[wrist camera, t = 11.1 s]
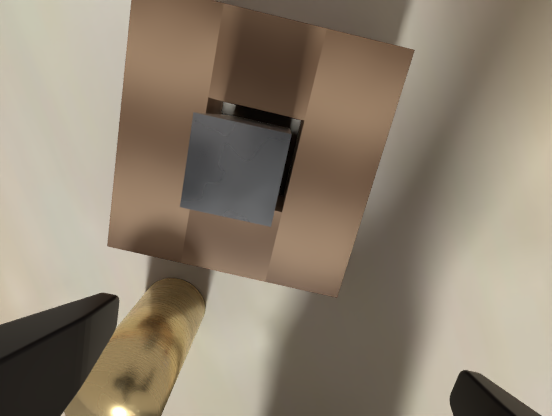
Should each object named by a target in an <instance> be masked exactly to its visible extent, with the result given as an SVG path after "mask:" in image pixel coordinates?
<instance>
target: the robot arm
mask: <svg viewBox="0 0 552 416" xmlns="http://www.w3.org/2000/svg"><path fill="white" fill-rule="evenodd" d="M118 309H119V297H118V296H116V295H112V294H108V293H99V294H96V295H93V296H90V297H87V298H83V299H80V300H77V301H74V302H71V303H68V304H64V305H61V306H58V307H55V308H52V309H49V310H45V311H42V312H39V313H36V314H33V315H30V316H26V317H23V318H20V319H17V320H14V321H11V322H7V323H4V324H1V325H0V416H61V414H62V413H63V412H64V410H65V409H66V408H67V406H68V405H69V404H70V402H71V401H72V400H73V398H74V397H75V395H76V394H77V393H78V391H79V390H80V388H81V387H82V385H83V384H84V382H85V380H86V379H87V377H88V375H89V374H90V372H91V370H92V369H93V367H94V365H95V364H96V362H97V360H98V359H99V357H100V355H101V354H102V352H103V350H104V349H105V347H106V345H107V344H108V342H109V340H110V339H111V337H112V335H113V334H114V331H115V329H116V326H117V318H118ZM450 406H451V409H452V412H453V416H541V415H540V414H538V413H537V412H535V411H534V410H532V409H531V408H530V407H528V406H527V405H525V404H524V403H522V402H521V401H519V400H518V399H517V398H515V397H514V396H512V395H511V394H509V393H508V392H506V391H505V390H503V389H502V388H501V387H499V386H498V385H496V384H495V383H493V382H492V381H490V380H489V379H488V378H486V377H485V376H483V375H482V374H480V373H477V372H472V371H468V370H463V371H461V372H460V373H459V375H458V378H457V380H456V382H455V385H454V387H453V390H452V392H451V395H450Z"/></svg>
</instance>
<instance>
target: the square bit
mask: <svg viewBox="0 0 552 416" xmlns="http://www.w3.org/2000/svg"><path fill="white" fill-rule="evenodd" d="M291 135H292V134H291V130H290V128H287V127H283V126H278V125H274V124H269V123H265V122H260V121H256V120H251V119H247V118H242V117H238V116H234V115H221V114H208V113H196V112H193V119H192V126H191V133H190V140H189V147H188V154H187V161H186V168H185V175H184V182H183V189H182V196H181V203H180V207H181V208H186V209H191V210H195V211H200V212H204V213H209V214H214V215H218V216H223V217H228V218H232V219H237V220H241V221H246V222H251V223H255V224H260V225H265V226H269V227H271V224H272V220H273V216H274V211H275V207H276V202H277V198H278V193H279V189H280V184H281V180H282V175H283V171H284V166H285V162H286V157H287V153H288V148H289V144H290V139H291Z"/></svg>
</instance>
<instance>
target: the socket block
mask: <svg viewBox="0 0 552 416" xmlns="http://www.w3.org/2000/svg"><path fill="white" fill-rule="evenodd" d="M413 54H414V50H413V49H409V48H404V47H400V46H396V45H392V44H388V43H384V42H380V41H376V40H372V39H368V38H364V37H360V36H356V35H352V34H348V33H343V32H339V31H335V30H331V29H327V28H323V27H319V26H315V25H311V24H307V23H303V22H299V21H295V20H291V19H287V18H282V17H278V16H274V15H270V14H266V13H262V12H258V11H254V10H250V9H246V8H242V7H238V6H234V5H230V4H225V3H221V2H217V1H213V0H131V10H130V20H129V31H128V41H127V51H126V61H125V71H124V82H123V92H122V102H121V112H120V122H119V132H118V143H117V153H116V163H115V173H114V183H113V193H112V204H111V214H110V224H109V234H108V244H107V246H109V247H113V248H117V249H122V250H126V251H131V252H135V253H140V254H144V255H149V256H153V257H158V258H162V259H166V260H171V261H175V262H180V263H184V264H189V265H193V266H198V267H202V268H207V269H211V270H215V271H220V272H224V273H229V274H233V275H238V276H242V277H247V278H251V279H256V280H260V281H264V282H269V283H273V284H278V285H282V286H287V287H291V288H296V289H300V290H305V291H309V292H313V293H318V294H322V295H327V296H331V297H336V298H337V296H338V293H339V290H340V287H341V284H342V280H343V277H344V274H345V271H346V268H347V264H348V261H349V258H350V255H351V252H352V248H353V245H354V242H355V239H356V236H357V232H358V229H359V226H360V223H361V220H362V217H363V213H364V210H365V207H366V204H367V201H368V197H369V194H370V191H371V188H372V185H373V181H374V178H375V175H376V172H377V169H378V165H379V162H380V159H381V156H382V153H383V149H384V146H385V143H386V140H387V137H388V133H389V130H390V127H391V124H392V121H393V117H394V114H395V111H396V108H397V105H398V102H399V98H400V95H401V92H402V89H403V86H404V82H405V79H406V76H407V73H408V70H409V66H410V63H411V60H412V57H413ZM223 102H227V103H231V104H235V105H240V106H244V107H248V108H252V109H256V110H261V111H265V112H269V113H273V114H277V115H282V116H286V117H290V118H294V119H298V120H301V124H300V128H299V132H298V136H297V141H296V145H295V149H294V153H293V157H292V161H291V165H290V170H289V174H288V178H287V182H286V186H285V190H284V194H283V196H281V195H278V198H277V202H276V207H275V211H274V216H273V220H272V224H271V227H269V226H265V225H260V224H255V223H251V222H246V221H241V220H237V219H232V218H228V217H223V216H218V215H214V214H209V213H204V212H200V211H195V210H191V209H186V208H181V207H180V203H181V196H182V189H183V182H184V175H185V168H186V161H187V154H188V147H189V140H190V133H191V126H192V119H193V112H196V113H208V114H221V111H222V106H223Z"/></svg>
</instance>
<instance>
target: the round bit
mask: <svg viewBox="0 0 552 416" xmlns="http://www.w3.org/2000/svg"><path fill="white" fill-rule="evenodd" d="M204 313H205V303H204V300H203V297H202V295H201V294H200V292H199V291H198V290H197V289H196V288H195V287H194V286H193V285H192V284H190V283H188V282H187V281H184V280H181V279H177V278H166V279H162V280H159V281H157V282H156V283H154V284H153V285H152V286H151V287H150V288H149V289H148V290H147V291H146V293H145V294H144V295H143V296H142V298H141V299H140V300H139V301H138V302H137V304H136V305H135V306H134V307H133V308H132V310H131V311H130V312H129V313H128V315H127V316H126V317H125V318H124V319H123V321H122V322H121V323H120V324H119V325H118V327H117V328H116V329H115V331H114V334H113V335H112V337H111V339H110V340H109V342H108V344H107V345H106V347H105V349H104V350H103V352H102V354H101V355H100V357H99V359H98V360H97V362H96V364H95V365H94V367H93V369H92V370H91V372H90V374H89V375H88V377H87V379H86V380H85V382H84V384H83V385H82V387H81V388H80V390H79V391H78V393H77V394H76V395H75V397H74V398H73V400H72V401H71V402H70V404H69V405H68V406H67V408H66V409H65V410H64V412H65V415H66V416H161V415H162V412H163V410H164V408H165V405H166V403H167V401H168V398H169V396H170V394H171V391H172V389H173V387H174V384H175V382H176V380H177V377H178V375H179V373H180V370H181V368H182V366H183V363H184V361H185V359H186V356H187V354H188V351H189V349H190V347H191V344H192V342H193V340H194V337H195V335H196V333H197V330H198V328H199V326H200V323H201V321H202V319H203V316H204Z"/></svg>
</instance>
